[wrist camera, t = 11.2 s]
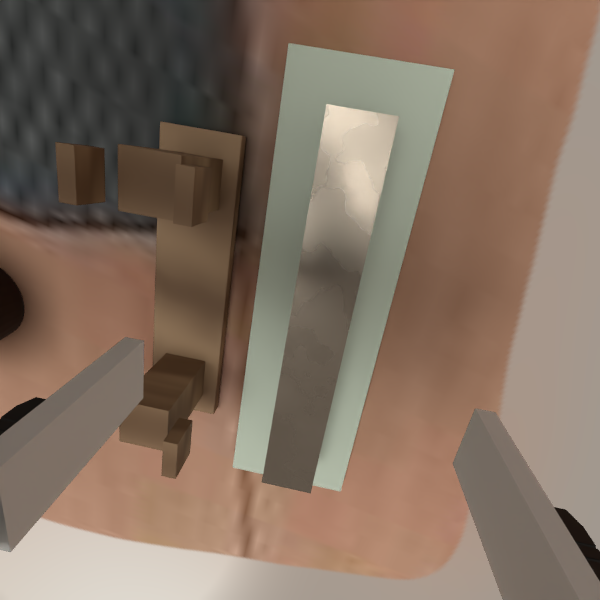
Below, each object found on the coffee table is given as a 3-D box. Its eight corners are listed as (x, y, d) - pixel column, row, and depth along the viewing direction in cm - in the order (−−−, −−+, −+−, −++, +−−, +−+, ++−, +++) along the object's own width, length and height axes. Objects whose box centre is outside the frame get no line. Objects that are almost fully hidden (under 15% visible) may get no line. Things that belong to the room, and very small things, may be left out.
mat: (290, 47, 21) (288, 43, 20) (450, 73, 20) (454, 69, 19) (235, 460, 31) (232, 467, 30) (340, 483, 30) (340, 491, 30)
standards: (160, 122, 23) (52, 92, 14) (253, 138, 22) (198, 117, 14) (152, 392, 30) (75, 480, 21) (223, 407, 29) (174, 502, 21)
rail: (329, 114, 21) (326, 104, 18) (390, 125, 21) (399, 116, 17) (270, 447, 29) (261, 482, 26) (314, 456, 29) (310, 493, 26)
